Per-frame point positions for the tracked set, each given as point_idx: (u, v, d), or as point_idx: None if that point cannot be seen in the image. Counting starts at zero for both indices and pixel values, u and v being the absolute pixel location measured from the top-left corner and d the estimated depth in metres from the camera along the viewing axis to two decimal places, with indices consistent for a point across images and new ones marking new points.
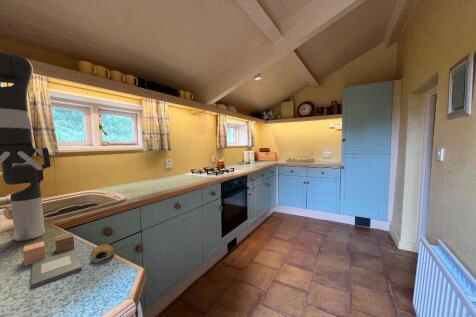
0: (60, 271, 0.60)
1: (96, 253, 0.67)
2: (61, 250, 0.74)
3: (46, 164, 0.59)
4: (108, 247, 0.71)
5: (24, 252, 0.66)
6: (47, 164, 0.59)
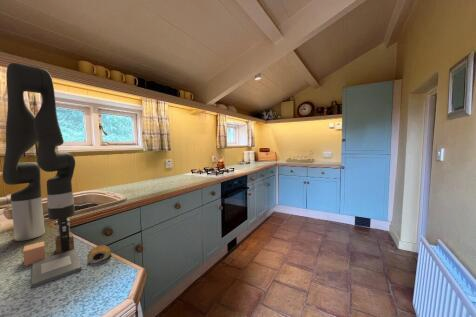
0: (60, 271, 0.60)
1: (93, 254, 0.66)
2: (61, 250, 0.74)
3: None
4: (105, 248, 0.70)
5: (24, 252, 0.66)
6: None
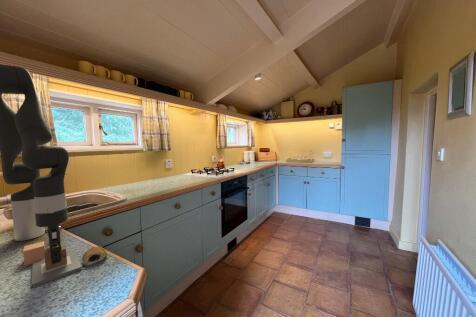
0: (60, 271, 0.60)
1: (89, 256, 0.65)
2: (51, 266, 0.62)
3: None
4: (101, 249, 0.69)
5: (24, 252, 0.66)
6: None
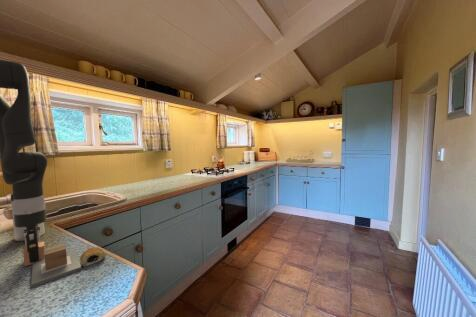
0: (60, 271, 0.60)
1: (87, 256, 0.65)
2: (51, 266, 0.62)
3: None
4: (99, 250, 0.69)
5: (24, 252, 0.65)
6: None
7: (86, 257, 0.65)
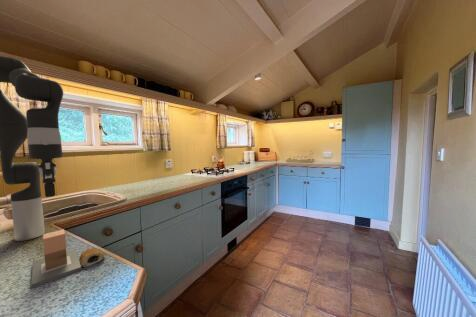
0: (60, 271, 0.60)
1: (88, 257, 0.65)
2: (51, 266, 0.62)
3: None
4: (98, 250, 0.69)
5: (44, 240, 0.60)
6: None
7: (87, 257, 0.64)
